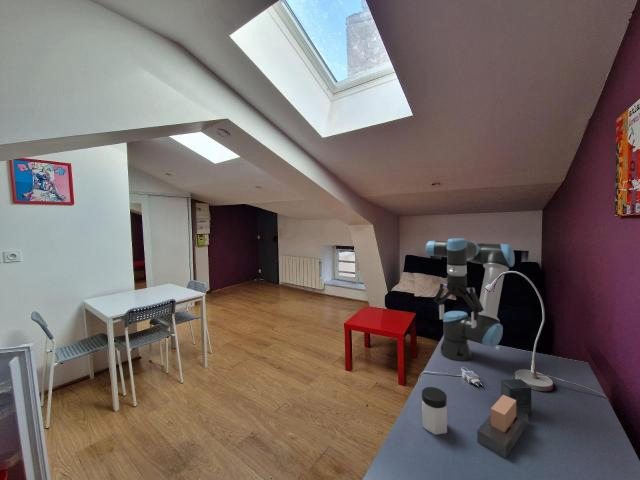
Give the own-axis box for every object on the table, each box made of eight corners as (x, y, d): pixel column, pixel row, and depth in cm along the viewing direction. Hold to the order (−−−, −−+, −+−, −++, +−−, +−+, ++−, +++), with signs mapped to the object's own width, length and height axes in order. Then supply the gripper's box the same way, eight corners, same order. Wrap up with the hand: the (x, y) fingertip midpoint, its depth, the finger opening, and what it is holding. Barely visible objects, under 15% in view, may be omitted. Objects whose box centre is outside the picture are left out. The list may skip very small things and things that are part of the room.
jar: (422, 414, 101) (421, 384, 100) (446, 419, 98) (445, 388, 97) (422, 432, 93) (421, 399, 92) (447, 438, 90) (447, 404, 89)
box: (520, 404, 104) (520, 378, 104) (532, 414, 99) (532, 387, 98) (500, 405, 105) (500, 379, 104) (510, 415, 99) (510, 388, 98)
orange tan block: (502, 421, 96) (503, 394, 96) (516, 427, 93) (516, 400, 92) (490, 436, 89) (490, 408, 89) (504, 444, 86) (504, 414, 86)
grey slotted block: (502, 411, 101) (502, 401, 101) (527, 423, 95) (528, 412, 94) (477, 442, 88) (477, 430, 87) (505, 458, 81) (505, 446, 81)
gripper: (425, 272, 122) (425, 317, 123) (485, 279, 102) (485, 333, 103) (433, 269, 126) (434, 313, 127) (492, 277, 107) (492, 328, 108)
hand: (457, 322), depth 115 cm, fingers open, 13 cm apart
